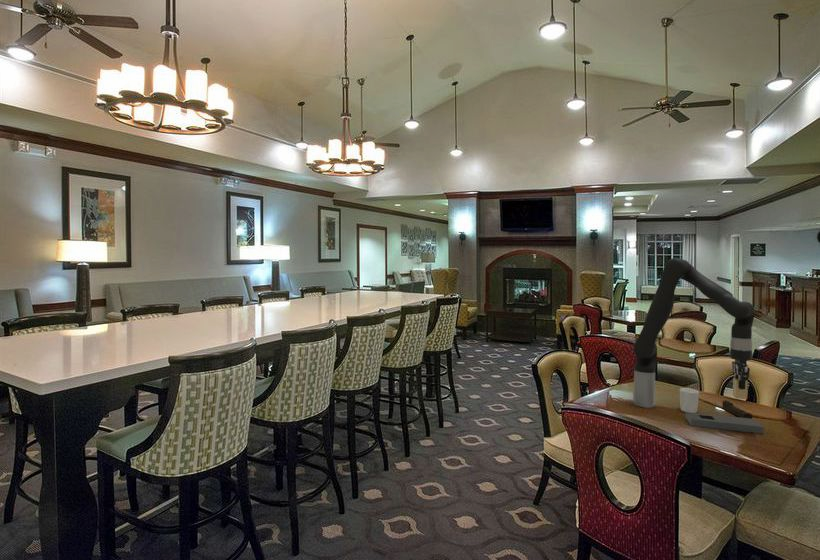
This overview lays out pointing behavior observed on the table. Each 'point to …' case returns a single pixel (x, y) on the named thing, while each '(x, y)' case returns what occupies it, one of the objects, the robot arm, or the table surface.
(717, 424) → the post plate
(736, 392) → the brass block
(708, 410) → the table surface
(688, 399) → the white cup
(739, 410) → the hand tool
